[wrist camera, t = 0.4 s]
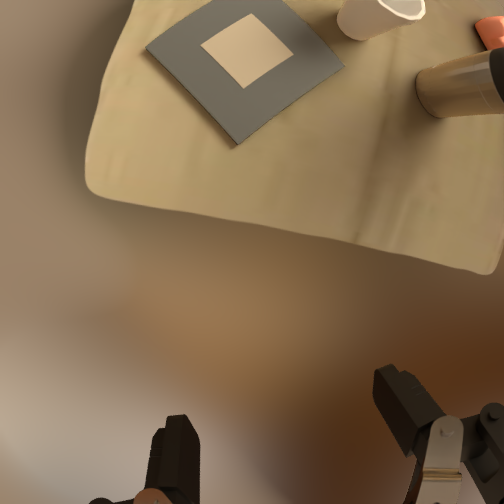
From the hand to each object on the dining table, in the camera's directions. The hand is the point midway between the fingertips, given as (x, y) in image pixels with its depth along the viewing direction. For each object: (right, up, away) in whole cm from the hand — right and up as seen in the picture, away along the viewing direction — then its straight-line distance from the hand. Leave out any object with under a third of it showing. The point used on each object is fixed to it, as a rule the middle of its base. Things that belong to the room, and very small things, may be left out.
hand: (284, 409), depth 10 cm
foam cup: (+15, +42, +22) cm, 50 cm away
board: (-2, +34, +22) cm, 41 cm away
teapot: (+55, +56, +22) cm, 81 cm away
